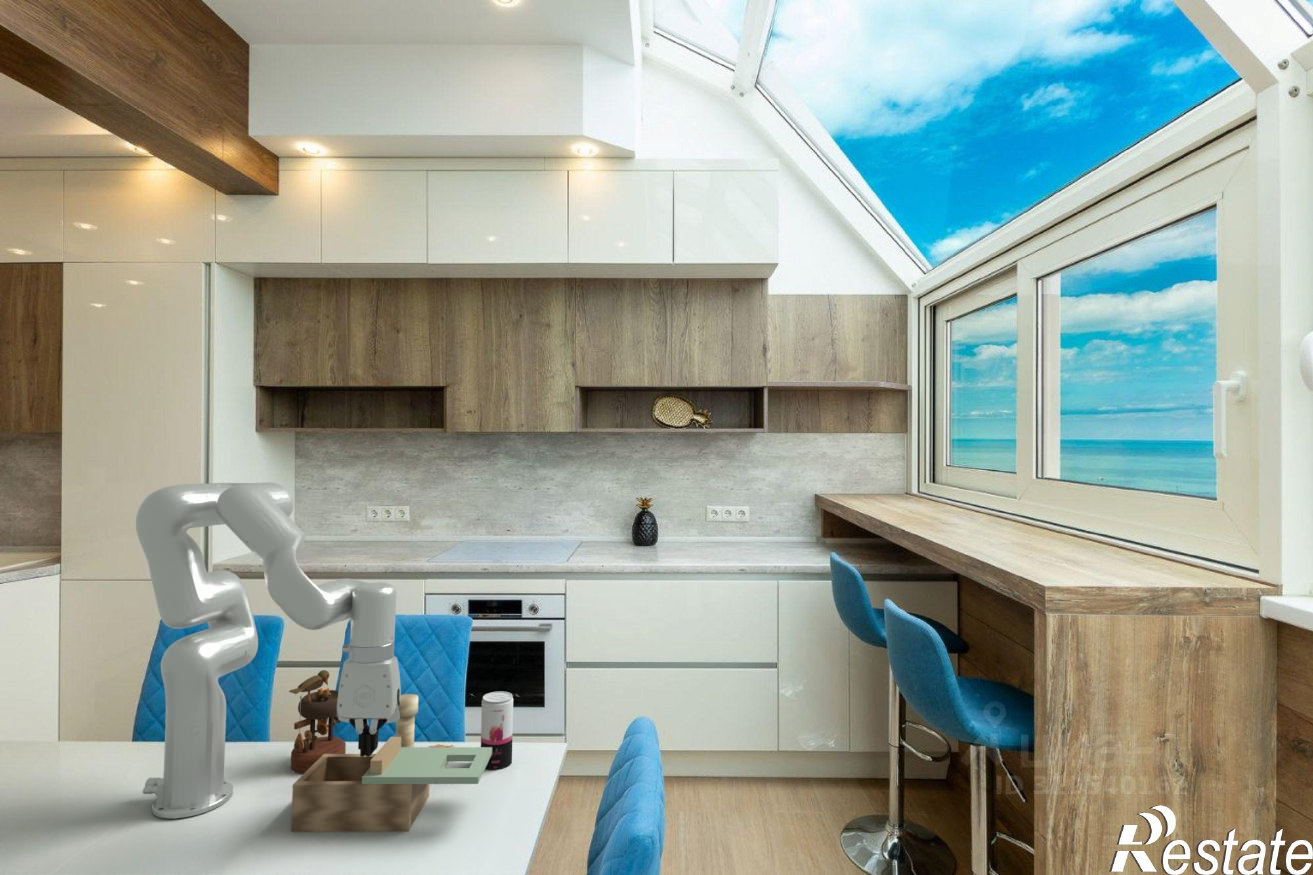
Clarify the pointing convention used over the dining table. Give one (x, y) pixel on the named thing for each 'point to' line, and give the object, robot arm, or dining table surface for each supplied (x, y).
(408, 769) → the green box lid
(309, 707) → the music box
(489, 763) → the beverage can
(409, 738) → the pin
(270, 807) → the dining table surface
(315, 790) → the wooden box
